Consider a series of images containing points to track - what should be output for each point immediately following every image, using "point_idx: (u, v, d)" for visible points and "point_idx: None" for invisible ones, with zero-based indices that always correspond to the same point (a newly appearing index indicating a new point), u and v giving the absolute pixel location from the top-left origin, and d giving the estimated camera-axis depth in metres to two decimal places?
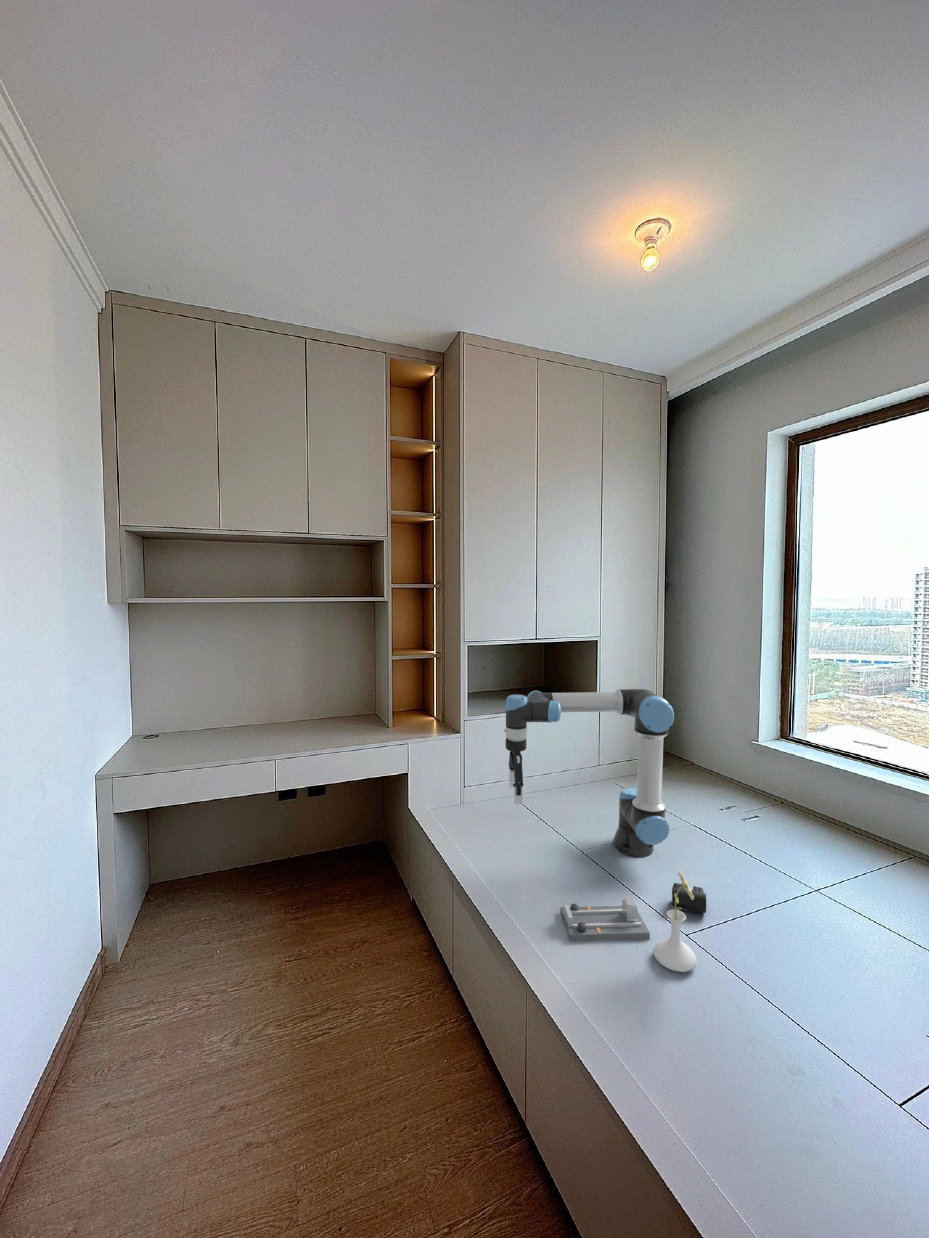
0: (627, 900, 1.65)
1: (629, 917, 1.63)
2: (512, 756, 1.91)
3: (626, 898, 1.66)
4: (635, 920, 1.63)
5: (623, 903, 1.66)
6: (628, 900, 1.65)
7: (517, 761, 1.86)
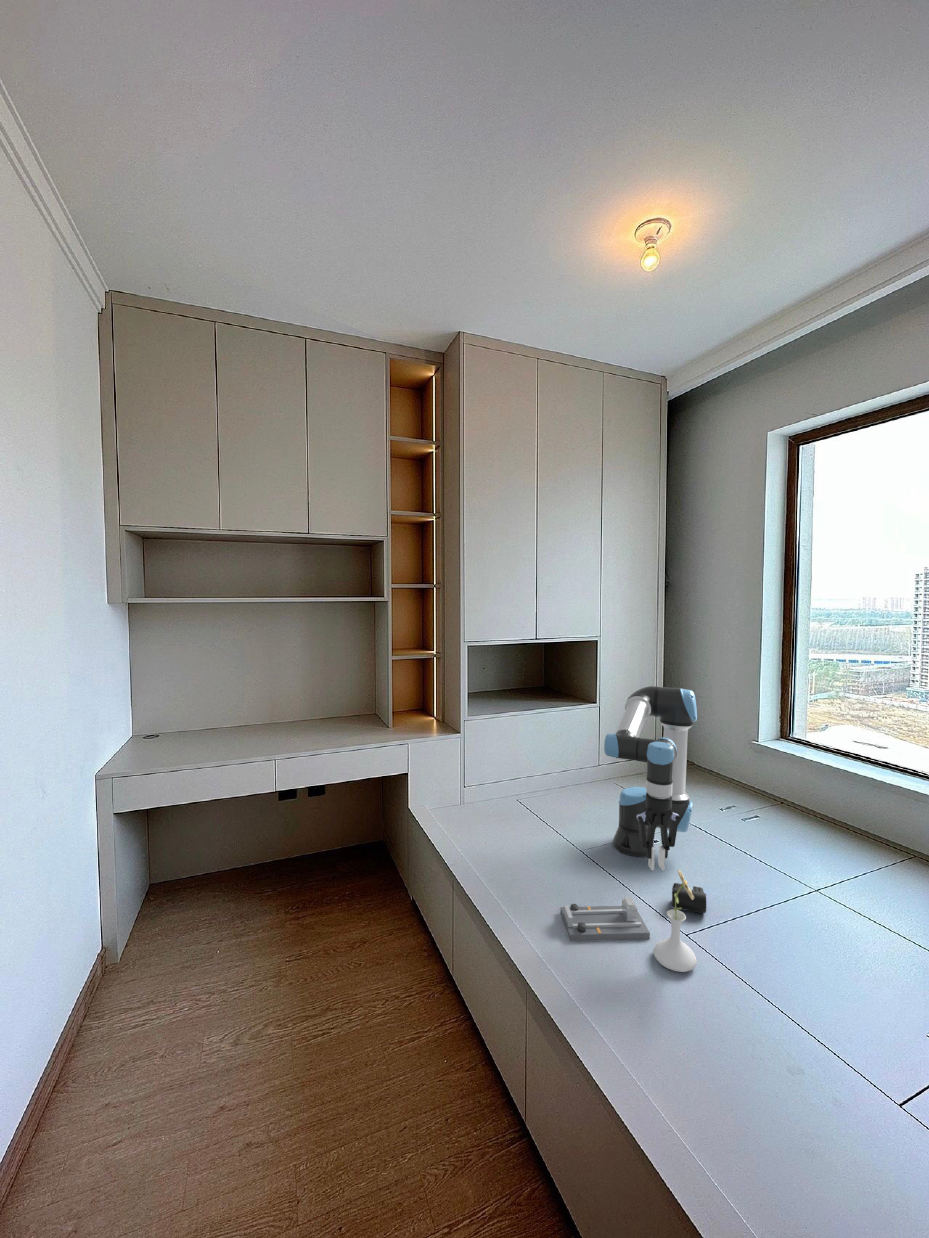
0: (627, 900, 1.65)
1: (629, 917, 1.63)
2: None
3: (626, 898, 1.66)
4: (635, 920, 1.63)
5: (623, 903, 1.66)
6: (628, 900, 1.65)
7: (637, 819, 1.63)
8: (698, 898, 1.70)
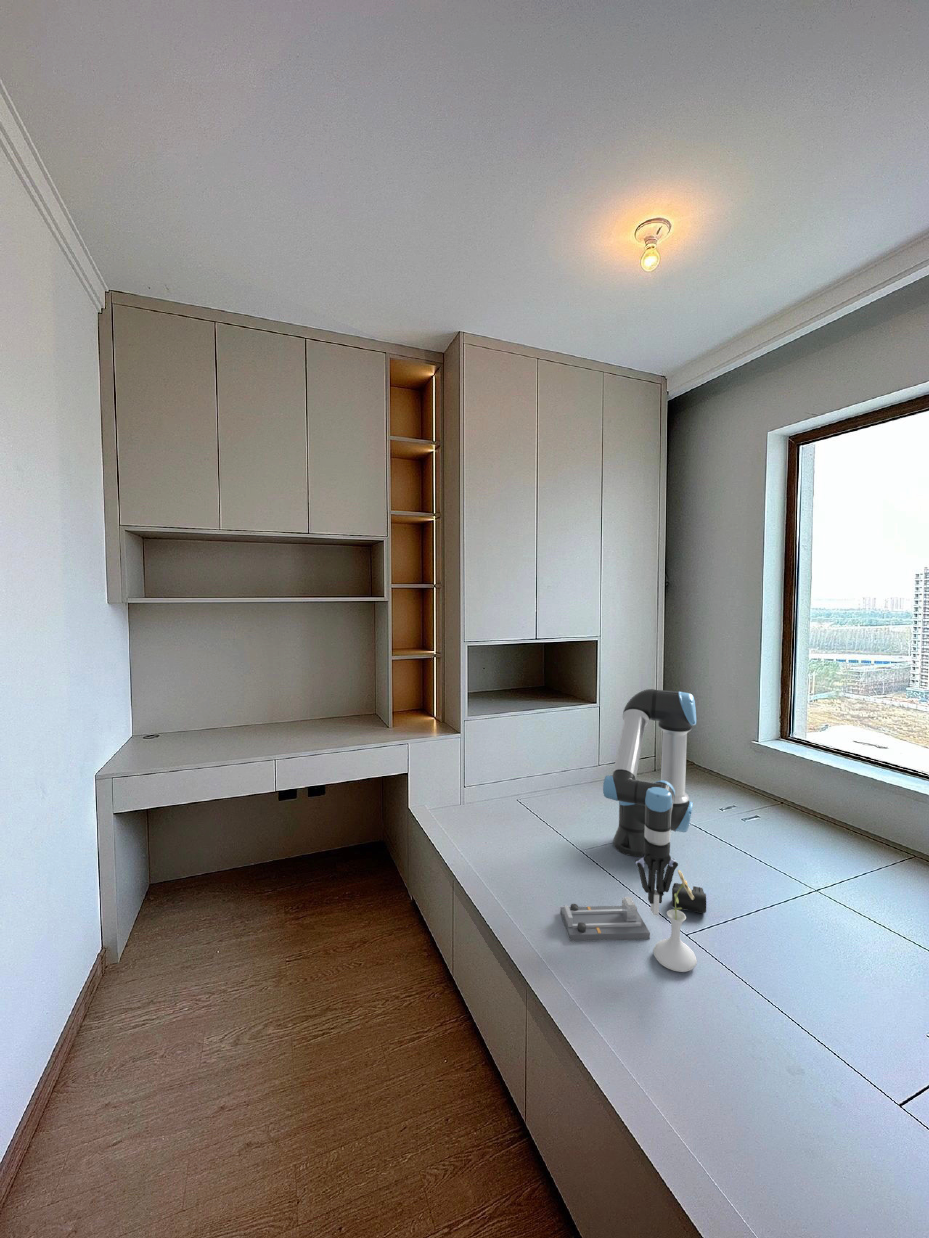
0: (627, 900, 1.65)
1: (629, 917, 1.63)
2: None
3: (626, 898, 1.66)
4: (635, 920, 1.63)
5: (623, 903, 1.66)
6: (628, 900, 1.65)
7: (637, 865, 1.64)
8: (698, 898, 1.70)
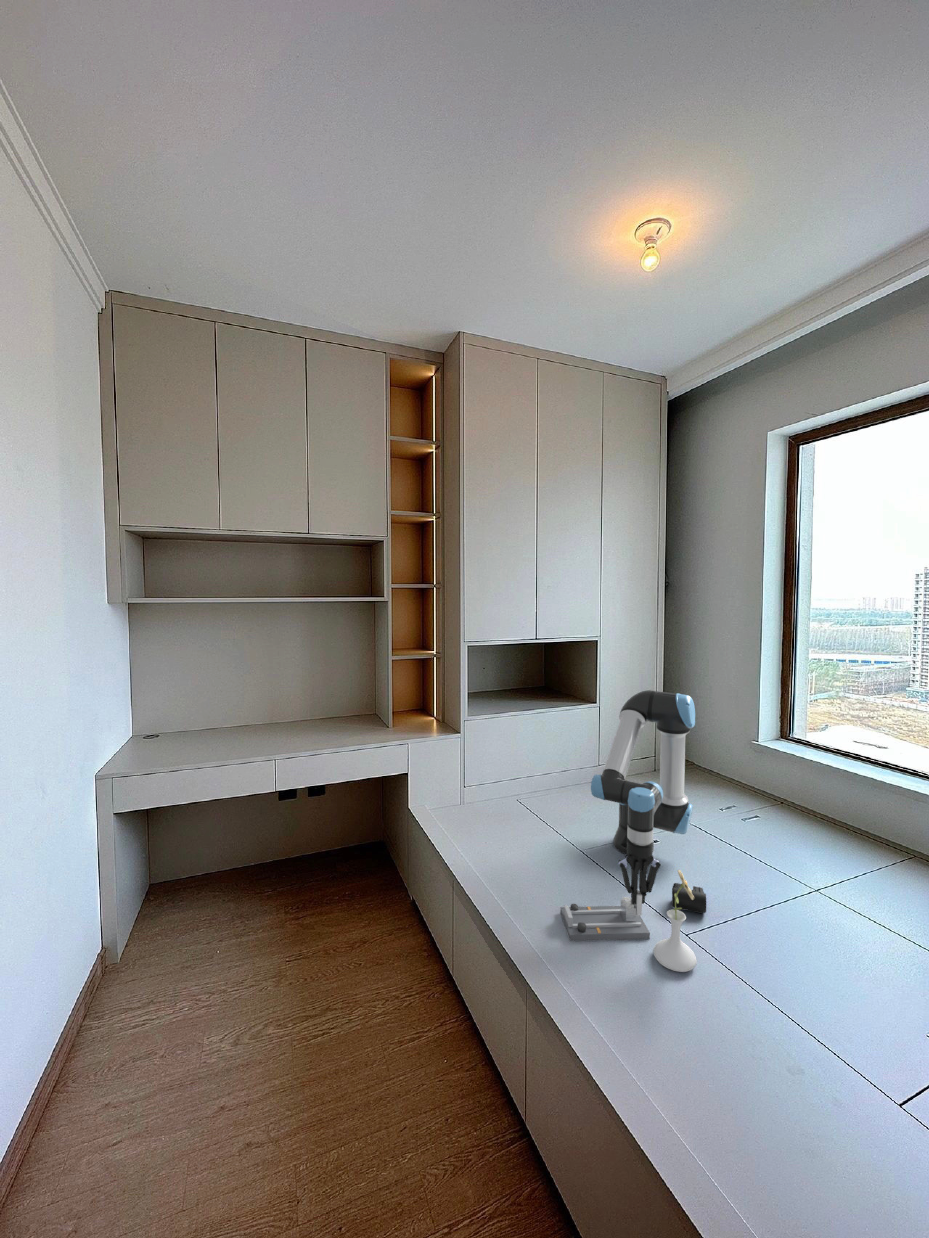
0: (626, 900, 1.65)
1: (628, 917, 1.63)
2: None
3: (625, 898, 1.66)
4: (634, 920, 1.63)
5: (622, 903, 1.66)
6: (627, 900, 1.65)
7: None
8: (698, 898, 1.70)
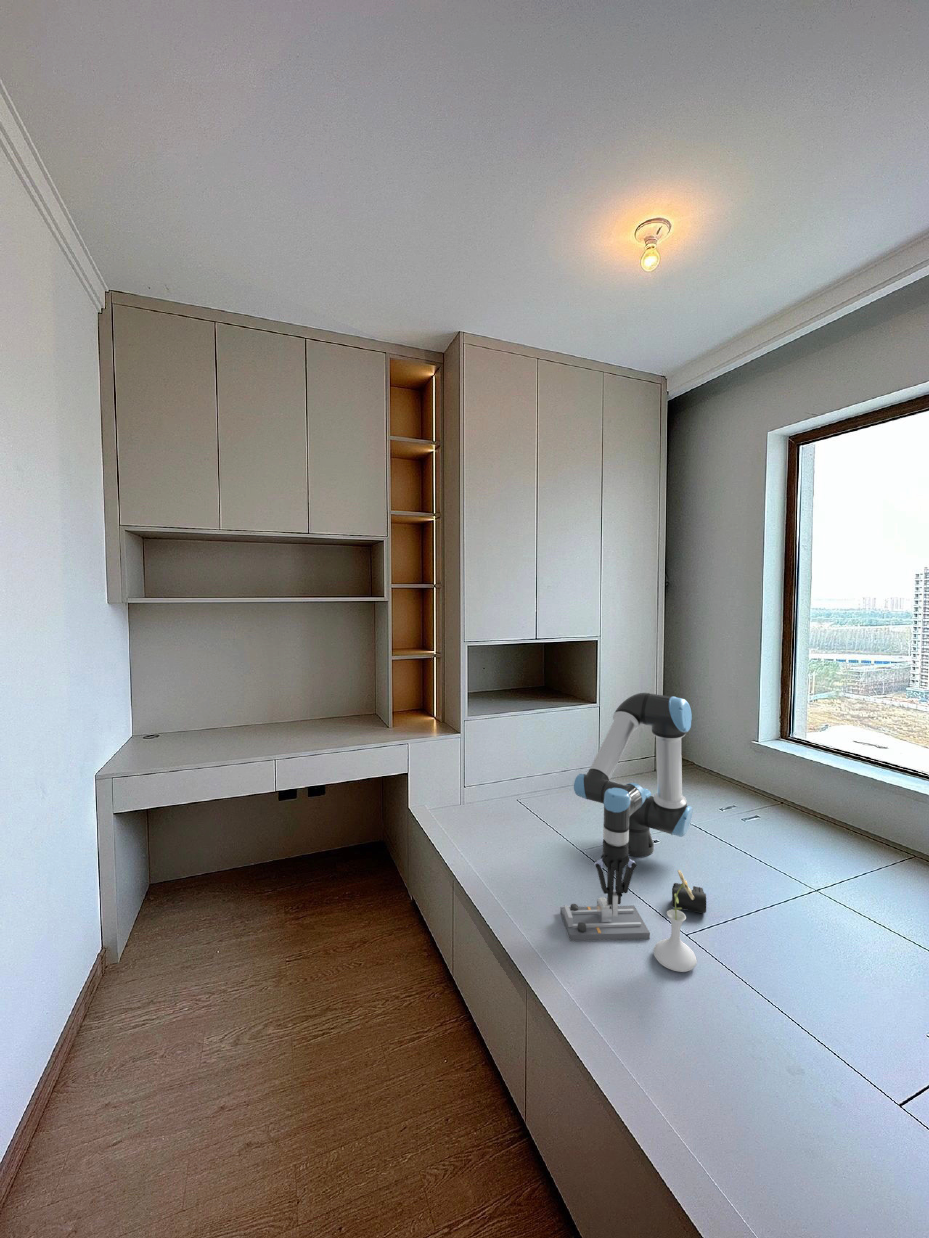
0: (602, 901, 1.65)
1: (604, 917, 1.63)
2: None
3: (601, 899, 1.66)
4: (610, 921, 1.63)
5: (598, 904, 1.66)
6: (603, 900, 1.65)
7: None
8: (698, 898, 1.70)
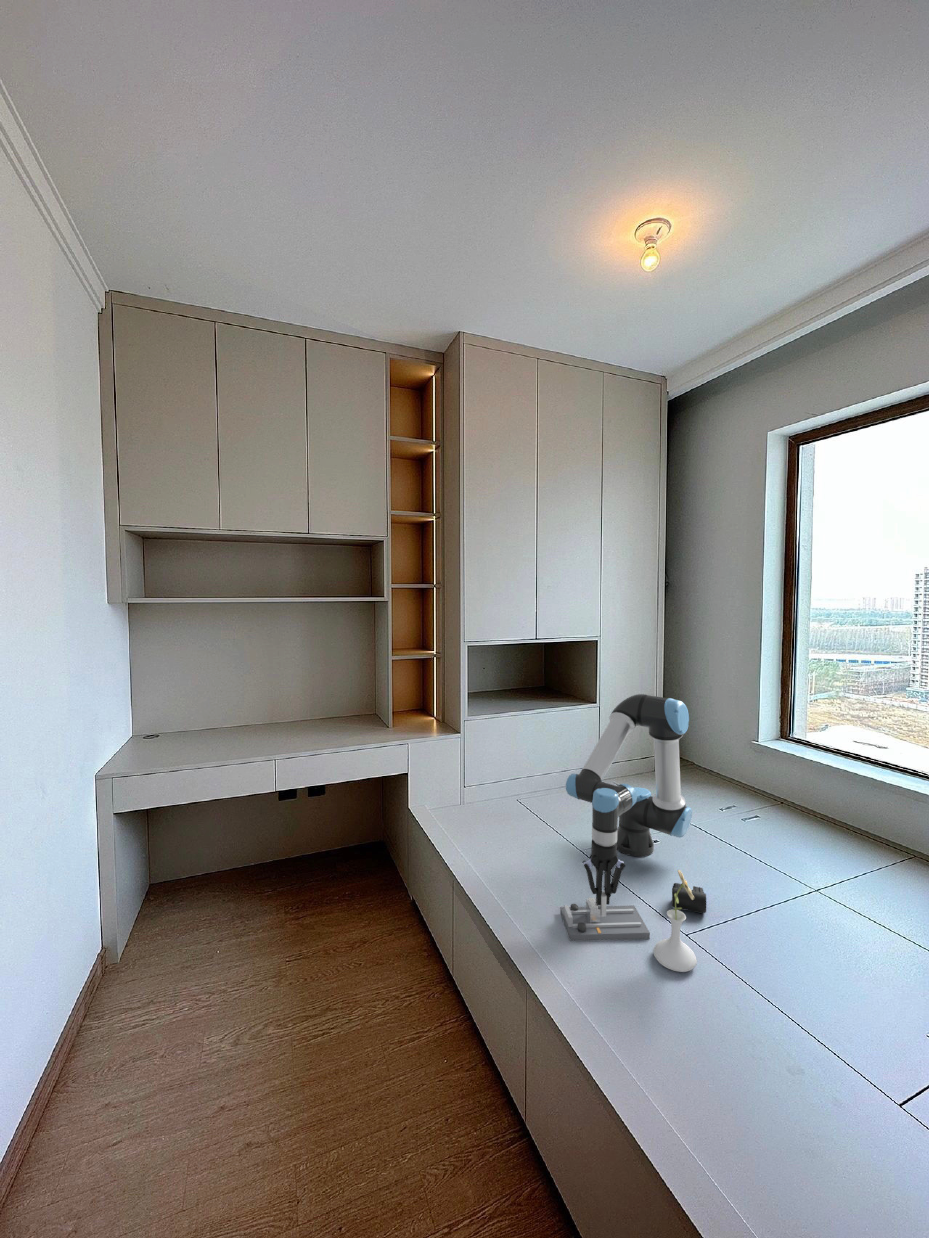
0: (591, 901, 1.65)
1: (592, 918, 1.62)
2: None
3: (590, 899, 1.66)
4: (598, 921, 1.63)
5: (587, 904, 1.66)
6: (592, 901, 1.65)
7: None
8: (698, 898, 1.70)
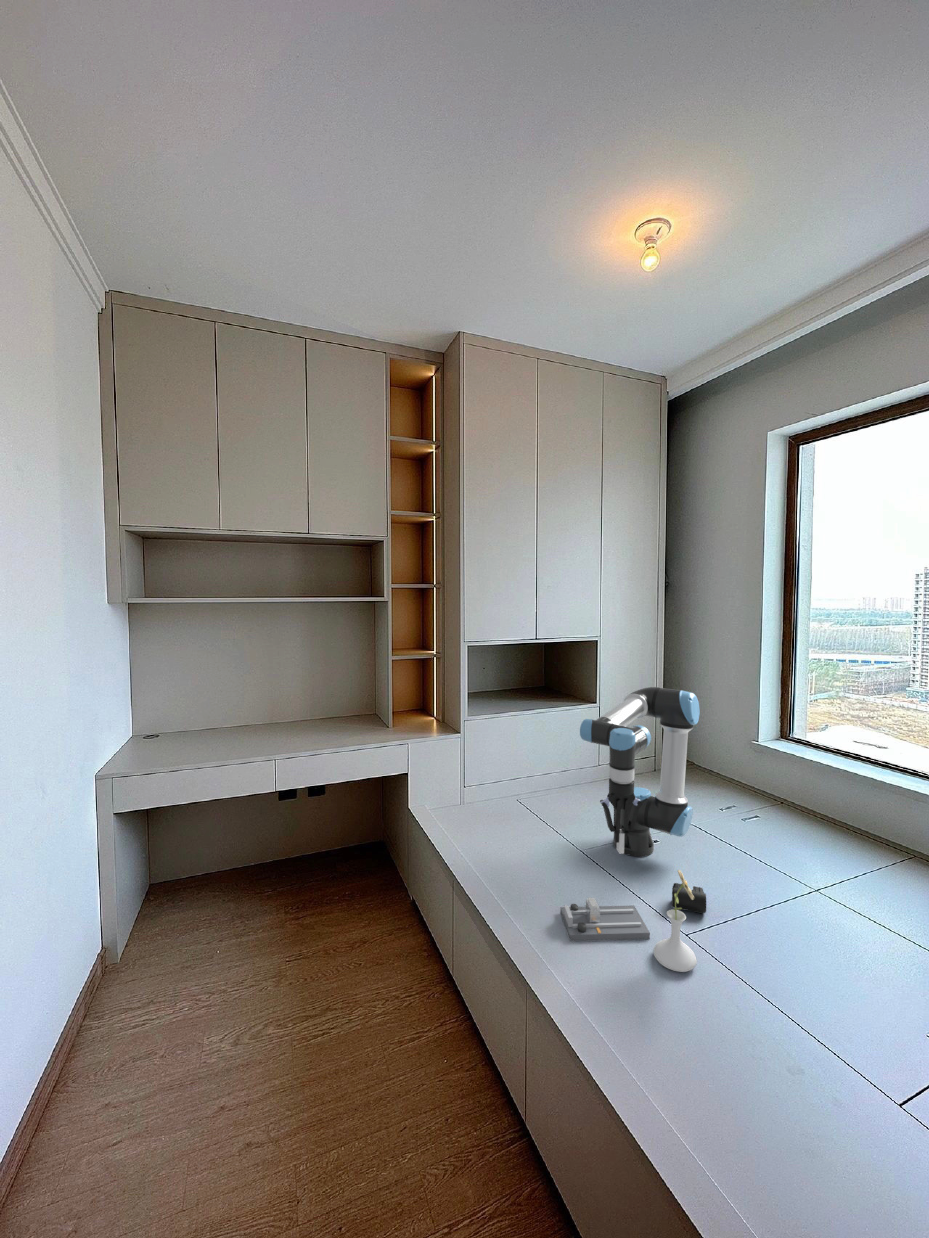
0: (590, 901, 1.65)
1: (592, 918, 1.62)
2: None
3: (590, 899, 1.66)
4: (598, 921, 1.63)
5: (587, 904, 1.66)
6: (592, 901, 1.65)
7: None
8: (698, 898, 1.70)
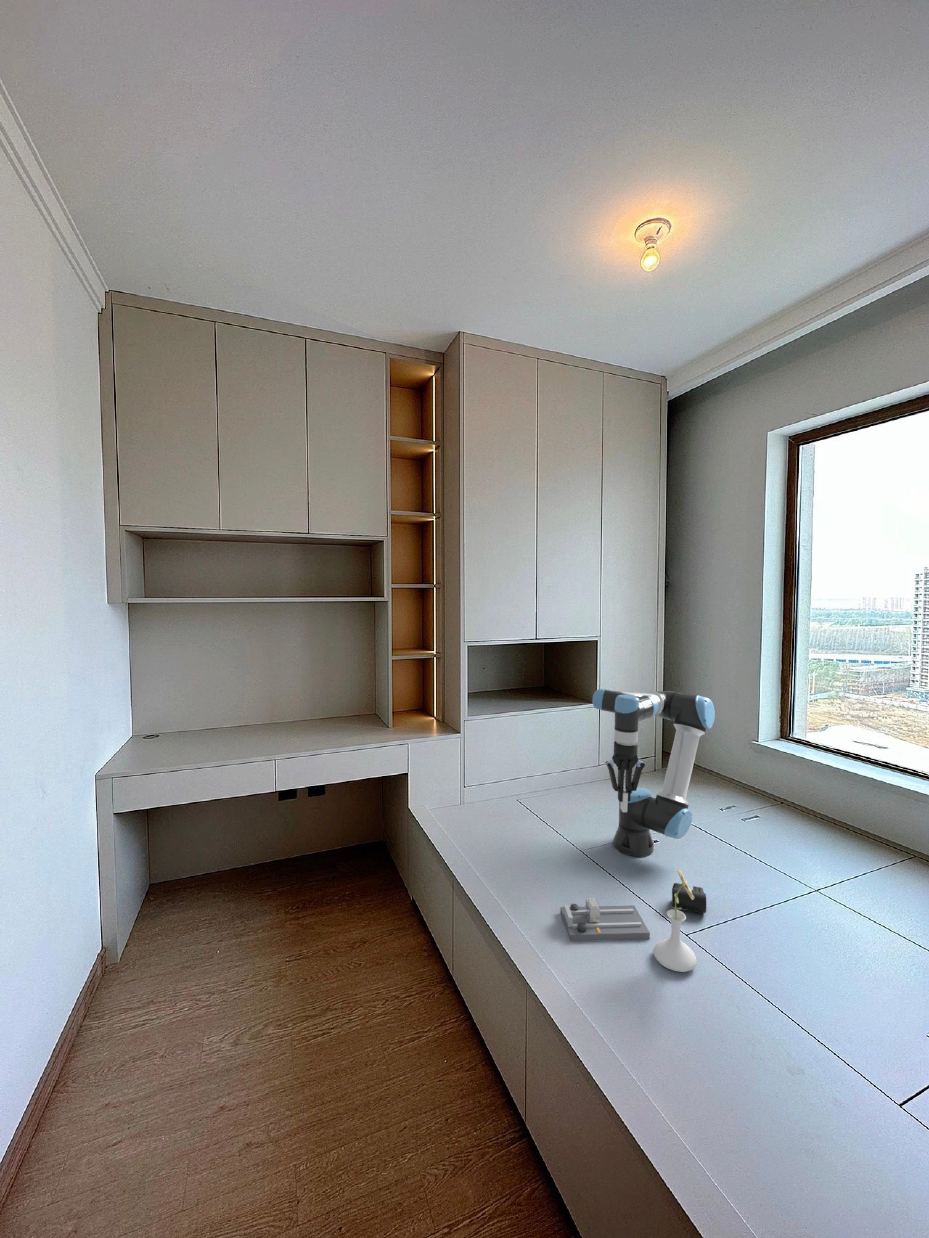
0: (590, 901, 1.65)
1: (592, 918, 1.62)
2: None
3: (590, 899, 1.66)
4: (598, 921, 1.63)
5: (587, 904, 1.66)
6: (592, 901, 1.65)
7: (607, 766, 1.78)
8: (698, 898, 1.70)
